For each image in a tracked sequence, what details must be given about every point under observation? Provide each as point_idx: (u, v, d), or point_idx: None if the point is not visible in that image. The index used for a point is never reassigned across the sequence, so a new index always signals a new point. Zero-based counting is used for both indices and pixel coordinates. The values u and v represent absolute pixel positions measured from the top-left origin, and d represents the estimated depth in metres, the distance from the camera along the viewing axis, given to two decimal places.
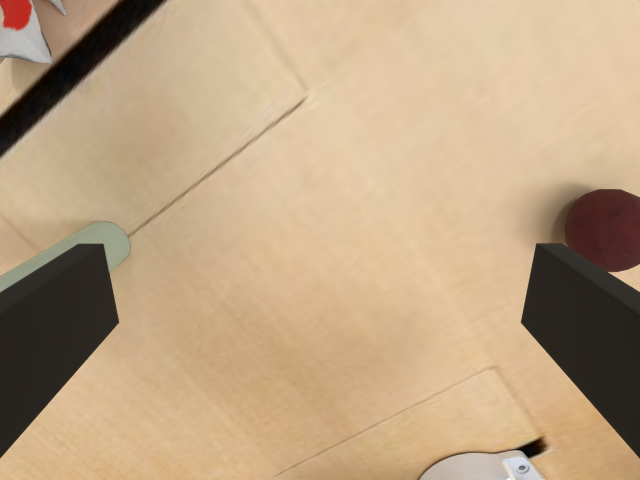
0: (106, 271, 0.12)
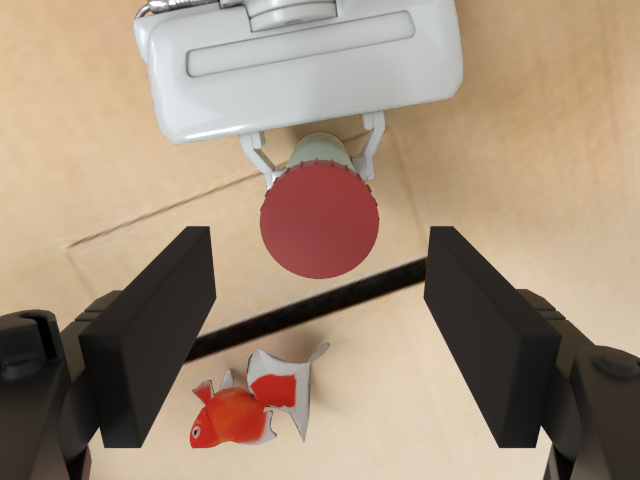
0: (210, 251, 0.14)
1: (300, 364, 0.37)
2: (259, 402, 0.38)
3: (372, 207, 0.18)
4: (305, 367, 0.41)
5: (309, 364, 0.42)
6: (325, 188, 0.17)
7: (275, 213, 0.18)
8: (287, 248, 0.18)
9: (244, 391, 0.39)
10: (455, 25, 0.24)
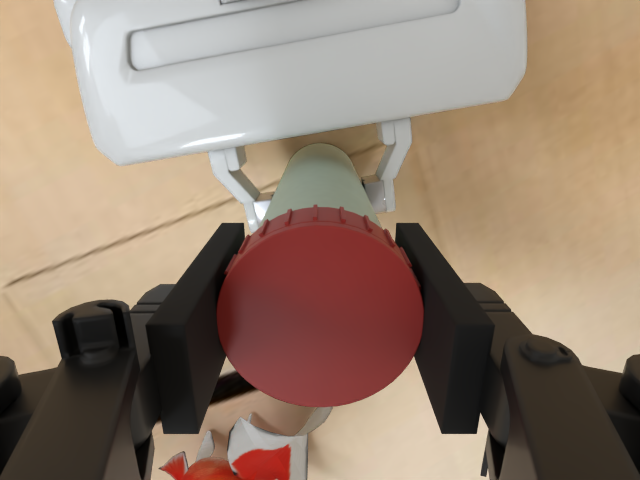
0: None
1: (295, 436, 0.29)
2: None
3: (414, 296, 0.10)
4: None
5: None
6: (331, 264, 0.10)
7: (242, 306, 0.10)
8: (265, 361, 0.11)
9: (225, 465, 0.31)
10: None
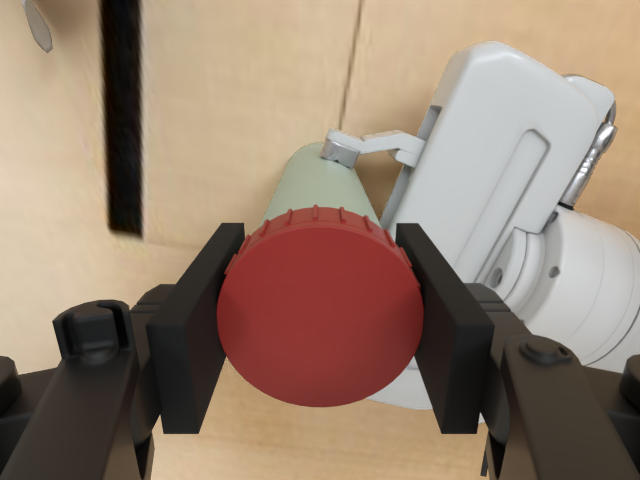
0: None
1: None
2: None
3: (414, 296, 0.10)
4: None
5: None
6: (331, 264, 0.10)
7: (241, 305, 0.10)
8: (264, 361, 0.11)
9: None
10: (389, 402, 0.24)
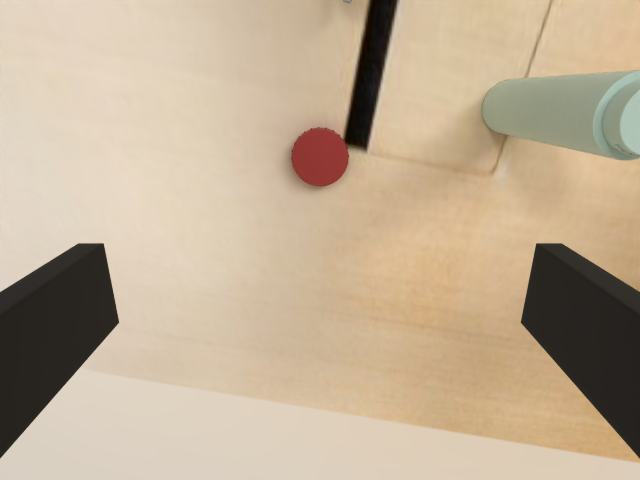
0: (106, 271, 0.12)
1: None
2: None
3: (345, 149, 0.38)
4: None
5: None
6: (322, 140, 0.37)
7: (299, 152, 0.38)
8: (304, 170, 0.38)
9: None
10: None
